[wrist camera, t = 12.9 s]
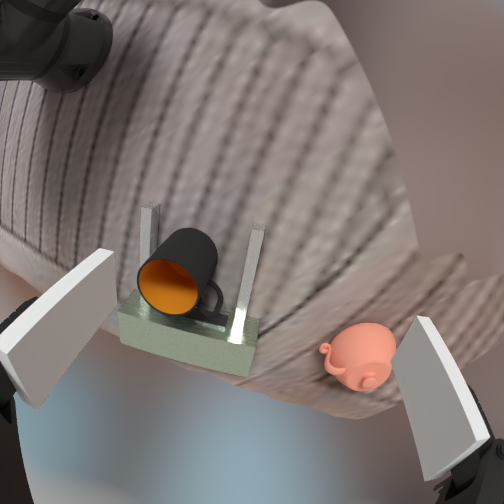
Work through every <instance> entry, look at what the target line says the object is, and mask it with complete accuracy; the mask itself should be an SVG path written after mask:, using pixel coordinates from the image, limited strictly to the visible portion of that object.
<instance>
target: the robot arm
mask: <svg viewBox="0 0 504 504" xmlns="http://www.w3.org/2000/svg"><path fill="white" fill-rule="evenodd" d="M80 1H82V0H0V81H12V80H30V81H34V82H36V83H37V84H39V85H41V86H43V87H44V88H46V89H48V90H50V91H53V92H64V93H67V92H72V91H75V90H77V89H79V88H81V87H83V86H84V85H85V84H87V83H88V82H89V81H90V80H91V79H92V78H93V77H94V76H95V75H96V74H97V72H98V71H99V70H100V68H101V67H102V65H103V63H104V62H105V60H106V58H107V55H108V53H109V50H110V47H111V43H112V26H111V23H110V20H109V19H108V18H107V16H106V15H104V14H103V13H101V12H98V11H96V10H94V9H89V8H82V9H73V8H74V7H75V6H76V5H77V4H78V3H79V2H80ZM116 306H117V294H116V280H115V260H114V252H113V251H109V250H105V249H101V248H99V249H98V250H96V251H95V252H94V253H93V254H91V255H90V256H89V257H87V258H86V259H85V260H84V261H82V262H81V263H80V264H79V265H77V266H76V267H75V268H74V269H72V270H71V271H70V272H69V273H68V274H66V275H65V276H64V277H63V278H62V279H60V280H59V281H58V282H57V283H56V284H54V285H53V286H52V287H51V288H50V289H49V290H48V291H46V292H45V293H44V294H43V295H42V296H41V297H40V298H38V297H34V298H32V299H30V300H28V301H25V302H24V303H23V304H22V305H21V306H19V308H17V309H16V312H13V313H12V314H11V315H10V316H9V318H6V319H5V320H4V322H2V323H1V324H0V504H34V502H33V499H32V496H31V492H30V488H29V485H28V481H27V477H26V473H25V468H24V464H23V459H22V454H21V447H20V441H19V434H18V427H17V418H16V407H15V400H14V397H13V395H14V393H15V392H16V391H17V392H18V394H19V396H20V397H21V399H22V400H23V401H24V402H25V403H26V404H28V405H29V406H31V407H32V408H34V409H36V410H37V411H38V410H39V409H40V407H41V406H42V404H43V403H44V401H45V400H46V398H47V397H48V396H49V394H50V393H51V391H52V390H53V388H54V387H55V386H56V384H57V383H58V381H59V380H60V379H61V377H62V376H63V374H64V373H65V372H66V370H67V369H68V368H69V366H70V365H71V364H72V362H73V361H74V359H75V358H76V357H77V356H78V354H79V353H80V352H81V350H82V349H83V348H84V346H85V345H86V344H87V342H88V341H89V340H90V339H91V337H92V336H93V335H94V333H95V332H96V331H97V330H98V328H99V327H100V326H101V325H102V323H103V322H104V321H105V320H106V318H107V317H108V316H109V315H110V313H111V312H112V311H113V310H114V309H115V307H116ZM390 362H391V365H392V368H393V370H394V373H395V376H396V379H397V382H398V385H399V388H400V391H401V395H402V398H403V401H404V404H405V407H406V411H407V414H408V417H409V421H410V424H411V428H412V432H413V435H414V438H415V443H416V447H417V450H418V454H419V458H420V463H421V467H422V471H423V476H424V481H428V480H432V479H437V478H440V477H441V476H443V475H444V474H446V473H447V472H448V471H450V470H451V474H452V475H451V476H450V477H448V478H447V479H445V480H444V481H442V482H441V483H439V484H438V485H436V486H435V488H434V491H435V490H437V489H438V488H440V487H441V486H443V485H444V486H443V488H442V489H440V490H439V491H438V493H440V495H439V498H438V500H437V502H436V504H504V440H503V439H495V437H494V435H493V433H492V430H491V428H490V425H489V423H488V421H487V418H486V416H485V414H484V412H483V411H482V407H481V405H480V403H478V399H477V397H476V395H475V393H474V391H473V390H472V388H471V387H470V386H469V385H468V384H467V383H466V382H465V380H464V378H463V377H462V374H461V372H460V370H459V369H458V367H457V365H456V363H455V361H454V359H453V357H452V356H451V354H450V352H449V350H448V349H447V347H446V345H445V343H444V342H443V340H442V338H441V336H440V335H439V333H438V331H437V330H436V328H435V326H434V325H433V323H432V321H431V320H430V318H428V317H422V316H416V317H415V319H414V321H413V323H412V325H411V327H410V328H409V330H408V332H407V334H406V335H405V337H404V339H403V341H402V342H401V344H400V346H399V347H398V349H397V351H396V352H395V354H394V355H393V357H392V359H391V360H390Z"/></svg>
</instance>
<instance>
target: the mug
mask: <svg viewBox="0 0 504 504" xmlns="http://www.w3.org/2000/svg"><path fill="white" fill-rule="evenodd" d="M216 263H217V250H216V247H215V244H214V243H213V241H212V240H211V239H210V237H209V236H207V235H206V234H205V233H203V232H202V231H200V230H197V229H193V228H183V229H179V230H177V231H175V232H174V233H173V234H172V235H170V236H169V238H168V239H167V240H166V241H165V242H164V243H163V244H162V245H161V246H160V247H159V248H158V249H157V250H156V251H155V252H154V253H153V254H152V255H151V256H150V257H149V258H148V259H147V260H146V261H145V263H144V264H143V265H142V266H141V267H140V269H139V272H138V275H137V285H138V289H139V292H140V294H141V296H142V297H143V299H144V300H145V302H146V303H147V304H148V305H149V306H151V307H152V308H153V309H155V310H156V311H158V312H160V313H162V314H165V315H169V316H181V315H185V314H188V313H189V312H191V311H192V310H193V309H194V308H195V307H197V308H198V309H199V310H200V312H201V313H202V314H203V315H205V316H207V317H210V318H213V317H216V316H217V315H218V314H219V312H220V309H221V307H222V303H223V294H222V291H221V289H220V288H219V287H218V285H217V284H216V283H215V282H213V281H212V280H210V279H209V278H210V276H211V274H212V272H213V270H214V268H215V266H216ZM206 285H210V286H212V287H213V288H214V289H215V291H216V292H217V295H218V301H217V304H216V306H215V309H214V311H212V312H209V311H207V310H206V309H205V308H204V306H203V304H202V300H201V295H202V293H203V291H204V289H205V287H206Z"/></svg>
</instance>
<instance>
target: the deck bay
mask: <svg viewBox="0 0 504 504" xmlns="http://www.w3.org/2000/svg"><path fill="white" fill-rule="evenodd" d="M159 211H160V203H155V202H149V203H147V204H146V205H144V206H143V207H142V208H141V229H140V267H141V266H142V265H143V264H144V263H145V261H146V260H147V259H148V258H149V257H150V256H151V255H152V254H153V253H154V252H155V251H156V250H157V241H158V225H159ZM264 231H265V224H260V223H256V222H254V225H253V228H252V232H251V237H250V242H249V247H248V252H247V257H246V262H245V267H244V272H243V277H242V282H241V287H240V292H239V297H238V302H237V307H236V312H235V314H234V313H229V312H225V311H220V312H219V314H218V315H217V316H216V317H213V318H210V317H207V316H205V315H203V314H202V313H201V312H200V310H199V309H198V308H197V307H195V308H194V309H193V310H192V311H191V312H189V313H188V314H185V315H181V316H169V315H165V314H162V313H160V312H158V311H156V310H155V309H153V308H152V307H151V306H149V305H148V304H147V303H146V302H145V300H144V299H143V297H142V296H141V294H140V292H139V290H138V289H135V290H134V291H133V292H132V293H131V294H130V296H129V297H128V298H127V299H126V300H125V302H124V303H123V304H122V305H121V307H120V308H119V309H118V310H117V317H118V326H119V334H120V341H121V343H123V344H125V345H128V346H132V347H134V348H137V349H140V350H144V351H147V352H150V353H153V354H156V355H159V356H163V357H166V358H170V359H173V360H177V361H180V362H184V363H188V364H191V365H195V366H199V367H203V368H207V369H211V370H215V371H220V372H224V373H229V374H233V375H238V376H243V377H248V373H249V370H250V366H251V363H252V359H253V356H254V352H255V349H256V343H257V336H258V328H259V321H260V319H257V318H252V317H247V316H246V312H247V308H248V303H249V299H250V294H251V290H252V285H253V281H254V276H255V272H256V267H257V263H258V258H259V254H260V249H261V245H262V240H263V236H264ZM204 308H205V309H206V310H207V311H209V312H212V311H214V309H212V308H207V307H204Z"/></svg>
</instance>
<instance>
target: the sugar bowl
mask: <svg viewBox="0 0 504 504" xmlns="http://www.w3.org/2000/svg"><path fill="white" fill-rule="evenodd" d="M319 352H320V353H322V354H326V356H325V360H324V368H325V370H326V371H327V372H328V373H330V374H332V375H334V376H335V377H336V378H337V379H338V380H339V381H340V382H341V383H342V384H344V385H345V386H347V387H348V388H350V389H352V390H356V391H367V390H371V389H374V388H376V387H378V386H379V385H381V384H382V383H383V382H384V381H385V380H386V379H387V378H388V376H389V374H390V372H391V370H392V365H391V362H390V360H391V359H392V357H393V355H394V354H395V352H396V343H395V339H394V336H393V334H392V332H391V331H390V330H389V329H388V328H386V327H385V326H383V325H381V324H377V323H359V324H355V325H352V326H350V327H348V328H346V329H344V330H343V331H341V332H340V333H339V334H338V335H337V336H336V337H335V338H334V339H333V340H332V342H331V343H330V344H328V343H323V344H321V345H320V346H319Z"/></svg>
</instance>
